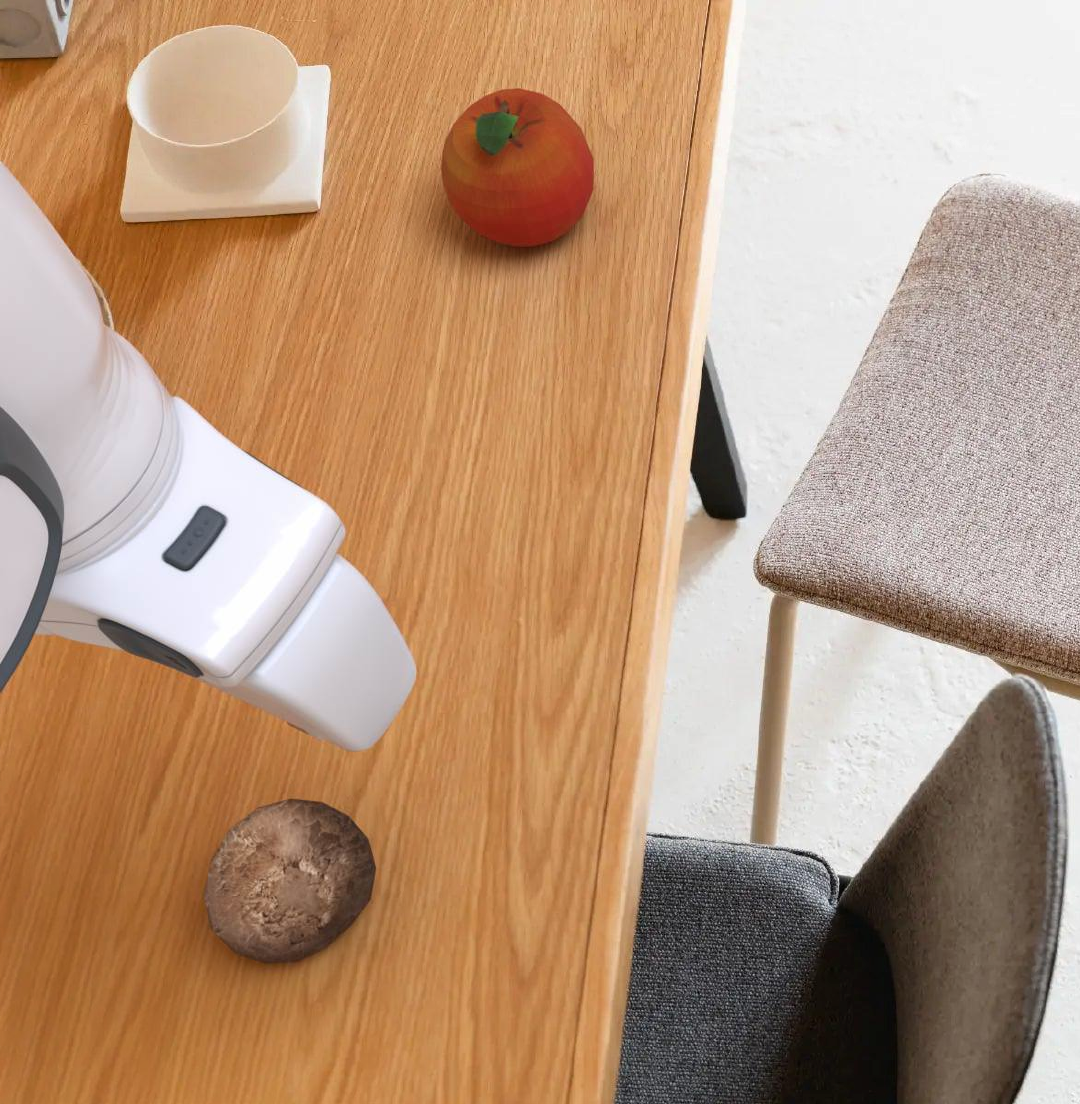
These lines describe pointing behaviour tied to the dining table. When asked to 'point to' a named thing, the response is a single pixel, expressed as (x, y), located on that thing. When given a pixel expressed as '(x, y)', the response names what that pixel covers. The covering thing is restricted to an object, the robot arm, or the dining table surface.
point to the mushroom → (288, 881)
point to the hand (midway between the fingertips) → (223, 672)
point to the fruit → (517, 168)
